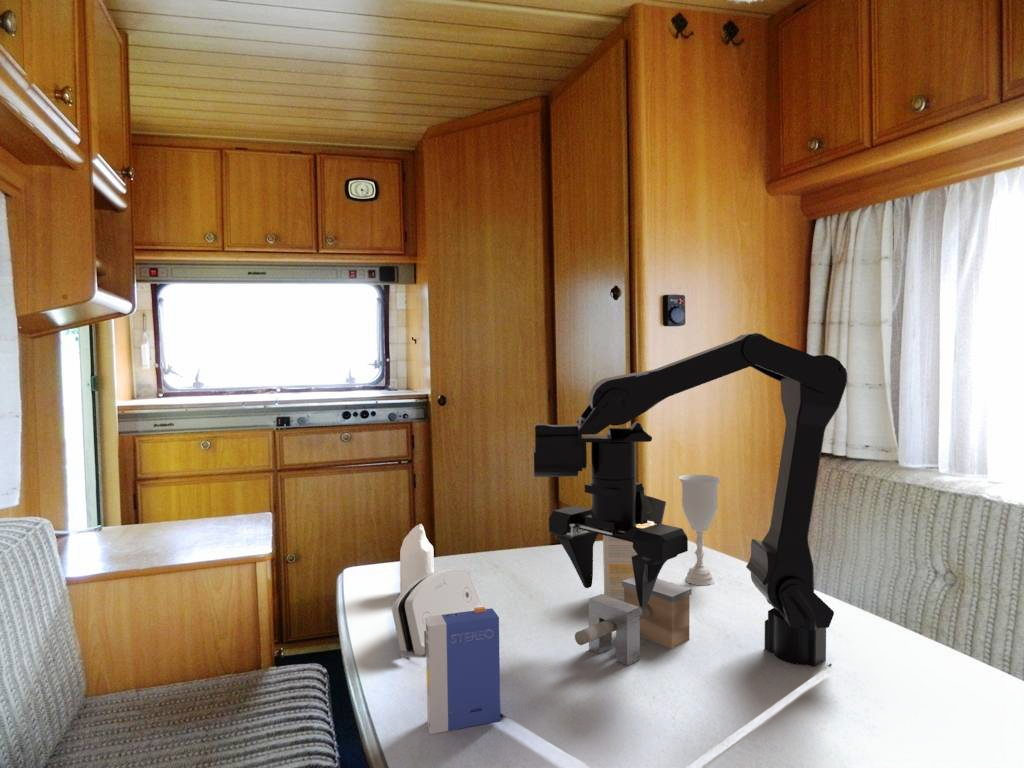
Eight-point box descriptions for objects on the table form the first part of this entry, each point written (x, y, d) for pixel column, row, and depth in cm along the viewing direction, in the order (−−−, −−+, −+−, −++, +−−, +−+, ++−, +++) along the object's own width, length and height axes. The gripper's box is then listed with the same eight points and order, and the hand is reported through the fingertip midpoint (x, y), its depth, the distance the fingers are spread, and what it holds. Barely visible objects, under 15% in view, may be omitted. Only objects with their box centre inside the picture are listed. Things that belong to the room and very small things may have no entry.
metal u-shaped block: (639, 659, 87) (639, 607, 86) (627, 665, 85) (627, 612, 85) (601, 643, 91) (601, 593, 91) (589, 649, 90) (588, 598, 89)
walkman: (493, 709, 77) (492, 604, 76) (500, 721, 74) (499, 613, 74) (424, 721, 75) (422, 613, 74) (429, 734, 72) (427, 623, 71)
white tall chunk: (391, 524, 113) (418, 518, 117) (393, 595, 113) (419, 586, 117) (414, 530, 109) (441, 523, 113) (415, 604, 109) (442, 595, 113)
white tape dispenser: (432, 665, 88) (409, 589, 89) (404, 670, 90) (382, 596, 91) (494, 619, 103) (473, 555, 104) (468, 624, 105) (449, 561, 106)
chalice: (670, 577, 121) (670, 476, 120) (700, 571, 124) (701, 473, 123) (698, 590, 114) (698, 483, 113) (729, 583, 117) (729, 480, 116)
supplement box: (654, 600, 110) (654, 520, 109) (658, 612, 105) (657, 528, 104) (603, 599, 110) (602, 519, 110) (604, 610, 106) (603, 527, 105)
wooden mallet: (641, 628, 99) (641, 573, 98) (691, 646, 92) (691, 588, 92) (555, 666, 87) (555, 605, 87) (605, 690, 81) (605, 624, 80)
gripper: (712, 477, 85) (713, 599, 86) (599, 460, 99) (600, 566, 100) (659, 490, 78) (660, 623, 79) (545, 470, 92) (546, 584, 93)
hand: (614, 596), depth 88 cm, fingers open, 9 cm apart
